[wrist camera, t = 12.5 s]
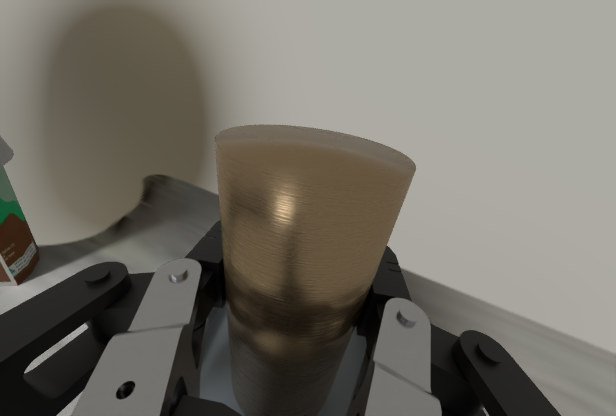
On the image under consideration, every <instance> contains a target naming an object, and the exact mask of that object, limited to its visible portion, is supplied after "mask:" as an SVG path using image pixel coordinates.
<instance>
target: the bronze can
mask: <svg viewBox="0 0 616 416" xmlns="http://www.w3.org/2000/svg"><path fill="white" fill-rule="evenodd" d="M215 147H216V162H217V176H218V191H219V205H220V220H221V234H222V249H223V263H224V278H225V292H226V307H227V321H228V335H229V350H230V364H231V379H232V388H233V393H234V396H235V399H236V401H237V403H238V405H239V407H240V409H241V410H242V412H243V413H244V414H245V415H246V416H316V415H317V414H318V413H319V411H320V410H321V409H322V407H323V406H324V404H325V402H326V400H327V398H328V396H329V393H330V391H331V388H332V386H333V383H334V380H335V378H336V375H337V373H338V370H339V367H340V365H341V362H342V360H343V357H344V355H345V352H346V349H347V347H348V344H349V342H350V339H351V336H352V334H353V331H354V329H355V326H356V323H357V321H358V318H359V316H360V313H361V311H362V308H363V305H364V303H365V300H366V298H367V295H368V292H369V290H370V287H371V285H372V282H373V279H374V277H375V274H376V272H377V269H378V266H379V264H380V261H381V259H382V256H383V254H384V251H385V248H386V246H387V243H388V240H389V238H390V235H391V233H392V230H393V228H394V225H395V222H396V220H397V217H398V215H399V212H400V209H401V207H402V204H403V202H404V199H405V196H406V194H407V191H408V189H409V186H410V183H411V181H412V178H413V176H414V173H415V171H416V166H415V163H414V162H413V161H412V160H411V159H410V158H409V157H407V156H406V155H404V154H403V153H401V152H399V151H397V150H395V149H392V148H390V147H388V146H385V145H383V144H380V143H377V142H374V141H370V140H367V139H364V138H360V137H356V136H352V135H348V134H344V133H339V132H334V131H328V130H322V129H316V128H307V127H299V126H288V125H246V126H239V127H233V128H229V129H226V130H223V131H221V132H219V133H218V134H217V135H216V137H215Z"/></svg>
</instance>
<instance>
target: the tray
mask: <svg viewBox="0 0 616 416" xmlns="http://www.w3.org/2000/svg"><path fill="white" fill-rule="evenodd" d="M208 319H209V320H208V328H207V334H206V341H205V347H204V354H203V361H202V367H201V375H200V398H202V399H207V400H211V401H216V402H221V403H224V404H225V405H227V406H228V407H230V408H232V409H233V410H235V411H236V412H238V413H240V414H241V415H243V416H246V415H245V414H244V413H243V412H242V410H241V409H240V407H239V405H238V403H237V401H236V399H235V396H234V393H233V388H232V379H231V364H230V350H229V335H228V321H227V307H226V303H225V305H224V307H223V309H222V308H217V307H213V308H212V310H211V312H210V314H209V315H208ZM366 346H367V344H366V337H364V336H359V335H357V331H356V326H355V329H354V331H353V334H352V336H351V339H350V342H349V344H348V347H347V349H346V352H345V355H344V357H343V360H342V362H341V365H340V367H339V370H338V373H337V375H336V378H335V380H334V383H333V386H332V388H331V391H330V393H329V396H328V398H327V400H326V402H325V404H324V406H323V407H322V409H321V410H320V411H319V413H318V414H317V415H316V416H346V414H347V411H348V408H349V404H350V401H351V397H352V394H353V390H354V386H355V383H356V379H357V375H358V372H359V368H360V364H361V360H362V357H363V353H364V350H365V348H366Z"/></svg>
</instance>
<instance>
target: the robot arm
mask: <svg viewBox="0 0 616 416" xmlns="http://www.w3.org/2000/svg"><path fill="white" fill-rule="evenodd" d="M398 264H399V263H398V261H397V258H396V255H395V254H394V253H393V251H392V250H391V249H390V248H389V247H388V246H386V248H385V251H384V254H383V256H382V259H381V261H380V264H379V266H378V269H377V272H376V274H375V277H374V279H373V282H372V285H371V287H370V290H369V292H368V295H367V298H366V300H365V303H364V305H363V308H362V311H361V313H360V316H359V318H358V321H357V323H356V331H357V335H359V336H364V337H366V344H367V346H366V348H365V350H364V353H363V357H362V360H361V364H360V368H359V372H358V375H357V379H356V383H355V386H354V390H353V394H352V397H351V401H350V404H349V408H348V411H347V414H346V416H486V414H485V413H484V411H483V409H482V408H485V409H486V411H487V412H488V414H489V415H490V416H561V415H560V414H559V413H558V411H557V410H556V409H555V408H554V407H553V406H552V404H551V403H550V402H549V401H548V400H547V398H546V397H545V396H544V395H543V394H542V392H541V391H540V390H539V389H538V388H537V387H536V385H535V384H534V383H533V382H532V381H531V379H530V378H529V377H528V376H527V375H526V373H525V372H524V371H523V370H522V369H521V368H520V366H519V365H518V364H517V363H516V362H515V360H514V359H513V358H512V357H511V356H510V354H509V353H508V352H507V351H506V350H505V349H504V348H503V347H502V346H501V345H500V344H499V343H497V342H496V341H495V340H493V339H492V338H491V337H489V336H487V335H485V334H483V333H481V332H478V331H474V330H468V331H464V332H463V333H462V334H461V335H460V337H457V336H455V335H453V334H451V333H449V332H447V331H445V330H442V329H440V328H438V327H436V326H434V325H432V324H431V323H430V321H429V319H428V317H427V315H426V314H425V313H424V311H423V310H422V309H421V308H420V307H418V306H417V305H416V304H414V303H413V302H412V301H411V298H410V295H409V292H408V289H407V286H406V283H405V281H404V278H403V275H402V273H401V269H400V266H399V265H398ZM225 303H226V292H225V278H224V263H223V249H222V234H221V220H220V221H218V222H217V223H216V224H215V225H214V226H213V227H212V228H211V229H210V231H208V233H207V234H206V235H205V237H203V238H202V239H201V240H200V241H199V243H198V244H197V245H196V246H195V247H194V248H193V249H192V250H191V251H190V253H189V254H188V255H187V256H186V257H185V258H182V259H176V260H173V261H170V262H168V263H166V264H164V265H163V266H161V267H160V268H159V269H158V270H157V271H156V272H153V273H138V274H129V273H128V270H127V267H126V266H125V265H124V264H122V263H119V262H104V263H100V264H96V265H93V266H90V267H88V268H86V269H84V270H82V271H80V272H78V273H76V274H75V275H73V276H71V277H69V278H67V279H65V280H64V281H62V282H60V283H58V284H56V285H54V286H53V287H51V288H49V289H47V290H45V291H44V292H42V293H40V294H38V295H36V296H34V297H33V298H31V299H29V300H27V301H25V302H23V303H22V304H20V305H18V306H16V307H14V308H12V309H11V310H9V311H7V312H5V313H3V314H2V315H0V416H56V415H57V414H58V413H59V412H60V411H62V410H63V409H64V408H65V407H66V406H67V405H68V404H69V403H70V402H71V401H72V400H73V399H74V398H76V397H77V396H78V395H79V394H80V393H81V392H82V391H83V390H84V391H83V393H82V395H81V397H80V399H79V401H78V403H77V405H76V406H75V408H74V410H73V412H72V414H71V416H243V415H241V414H240V413H238V412H236V411H235V410H233V409H232V408H230V407H228V406H227V405H225V404H224V403H221V402H216V401H211V400H207V399H202V398H200V375H201V367H202V361H203V354H204V347H205V341H206V334H207V328H208V320H209V319H208V315H209V314H210V312H211V310H212V308H213V307H217V308H222V309H223V307H224V305H225ZM84 323H86V325H87V326H88V329H87V330H85V331H84V332H83V333H81V334H80V335H79V336H77V337H76V338H74V339H73V340H72V341H70V342H69V343H68V344H66V345H65V346H64V347H62V348H61V349H60V350H58V351H57V352H56V353H54V354H53V355H52V356H50V357H49V358H48V359H46V360H45V361H44V362H42V363H41V364H40V365H38V366H37V367H36V368H34V369H33V370H31V371H29V372H27V373H25V374H24V372H25V370H26V368H27V367H28V366H29V364H30V363H31V362H32V361H33V360H34V359H36V358H37V357H38V356H40V355H41V354H42V353H44V352H45V351H46V350H48V349H49V348H51V347H52V346H53V345H55V344H56V343H58V342H59V341H60V340H62V339H63V338H65V337H66V336H67V335H69V334H70V333H71V332H73V331H74V330H76V329H77V328H78V327H80V326H81V325H83V324H84Z"/></svg>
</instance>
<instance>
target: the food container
mask: <svg viewBox="0 0 616 416" xmlns="http://www.w3.org/2000/svg"><path fill="white" fill-rule="evenodd" d="M13 155H14V153H13V150H12V149H11V148H10V147H9V146H8V145H7V143H6V142H5V141H4V140H3V139H2V138H1V137H0V286H18V285H19V284H20V283H21V282H22V281H23V280H24V279H25V278H26V277H28V276H29V275H30V274H31V273H32V271H33V269H34V268H35V266H36V264H37V262H38V261H39V259H40V258H39V252H38V247H37V245H36V243H35V240H34V238H33V236H32V233H31V231H30V228H29V226H28V224H27V221H26V219H25V217H24V214H23V212H22V210H21V207H20V205H19V202H18V200H17V198H16V195H15V193H14V191H13V188H12V186H11V184H10V181H9V179H8V176H7V174H6V172H5V169H4V167H3V165H5V164H6V163H7V162H8V161H10V160H11V159H12V157H13Z"/></svg>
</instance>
